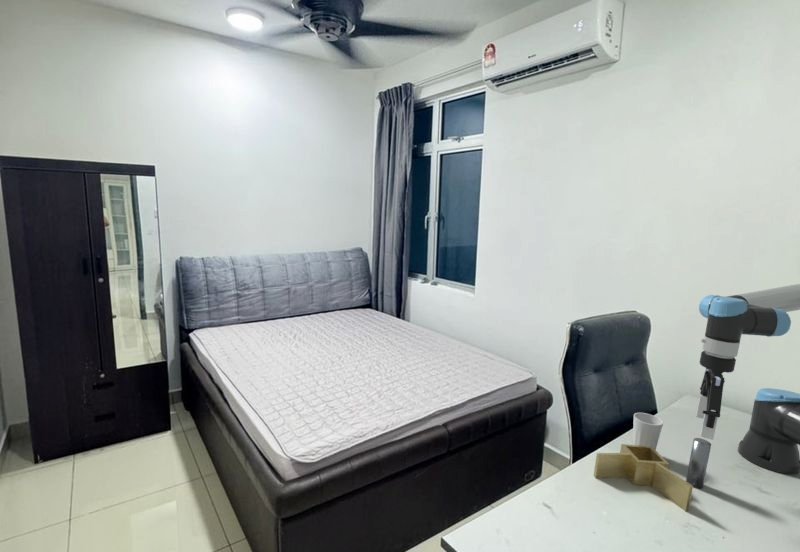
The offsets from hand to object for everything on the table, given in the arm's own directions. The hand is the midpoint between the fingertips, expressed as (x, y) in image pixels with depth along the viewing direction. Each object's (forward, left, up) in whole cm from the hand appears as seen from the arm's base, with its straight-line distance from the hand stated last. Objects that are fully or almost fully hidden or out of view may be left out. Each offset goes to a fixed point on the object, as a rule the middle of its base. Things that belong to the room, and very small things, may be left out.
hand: (704, 427), depth 116 cm
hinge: (+19, +3, -17) cm, 25 cm away
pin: (0, 0, -17) cm, 17 cm away
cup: (+7, -14, -18) cm, 23 cm away
